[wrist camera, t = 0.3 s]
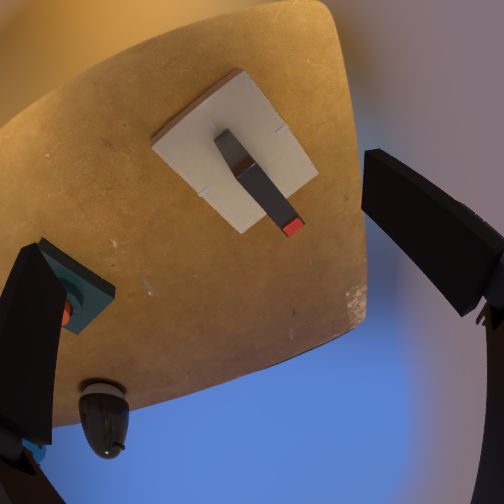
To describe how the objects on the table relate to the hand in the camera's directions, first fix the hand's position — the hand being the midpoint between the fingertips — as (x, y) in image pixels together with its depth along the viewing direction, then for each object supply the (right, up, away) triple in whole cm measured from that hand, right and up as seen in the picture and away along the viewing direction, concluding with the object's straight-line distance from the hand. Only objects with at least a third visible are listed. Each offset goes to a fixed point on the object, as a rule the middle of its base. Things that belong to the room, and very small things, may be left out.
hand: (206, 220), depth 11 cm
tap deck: (0, +10, +20) cm, 22 cm away
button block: (-24, -6, +24) cm, 34 cm away
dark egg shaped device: (-28, -28, +40) cm, 57 cm away
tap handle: (+1, +8, +18) cm, 20 cm away
